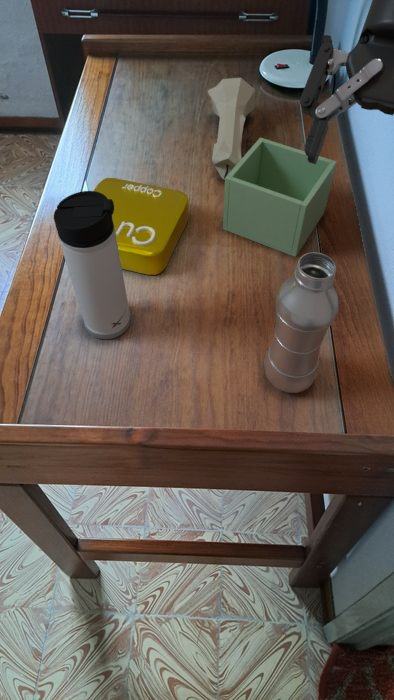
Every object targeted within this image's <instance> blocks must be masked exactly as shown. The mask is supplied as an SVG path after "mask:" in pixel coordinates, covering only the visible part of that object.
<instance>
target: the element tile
mask: <svg viewBox="0 0 394 700" xmlns="http://www.w3.org/2000/svg"><path fill="white" fill-rule="evenodd" d="M93 191H96V192H99V193H102V194H103V195H105V196H106V197H107V198H108V199H112V200H113V203H114V213H113V214H112V220H113V223H114V227H115V233H116V238H117V244H118V250H119V255H120V261H121V267H122V270H126V271H130V272H135V273H140V274H142V275H148V276H153V275H154V276H156V275H159V274H161V273H162V272H164V270H165V269H166V267H167V265H168V263H169V261H170V259H171V257H172V256H173V255H172V254H173V252H174V251H175V248H176V247H177V244H178V243H179V240H180V238H181V236H182V234H183V233H184V230H185V229H186V226H187V224H188V222H189V218H190V217H189V216H190V215H189V196H188V195H187V194H186V193H185V192H183V191H180V190H177V189H172V188H167V187H162V186H157V185H151V184H147V183H142V182H137V181H133V180H126V179H122V178H117V177H105V178H104V179H102V180H101V181H99V182H98V183H97V185H96V186H95V188H94V189H93Z"/></svg>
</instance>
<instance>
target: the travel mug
mask: <svg viewBox="0 0 394 700" xmlns="http://www.w3.org/2000/svg"><path fill="white" fill-rule="evenodd" d="M113 213H114V203H113V200H112V199H108V198H107V197H106V196H105V195H103V194H102V193H99V192H96V191H94V190H82V191H78V192H75V193H72V194H70V195H68V196H66V197H65V198H63V199H62V200H60V202H59V203H58V204H57V206H56V209H55V210H54V212H53V221H54V224H55V228H56V232H57V238H58V240H59V244H60V247H61V250H62V253H63V257H64V260H65V263H66V268H67V271H68V273H69V277H70V281H71V285H72V287H73V290H74V293H75V298H76V300H77V303H78V308H79V310H80V313H81V317H82V321H83V324H84V327H85V330H86V331H87V333H88V334H89V335H91V336H92V337H94V338H96V339H100V340H111V339H115V338H117V337H120V336H121V335H123V334H124V333H125V332H126V331H127V330H128V329H129V327H130V325H131V313H130V307H129V301H128V296H127V290H126V284H125V277H124V273H123V269H122V267H121V261H120V255H119V250H118V244H117V238H116V233H115V227H114V223H113V220H112V214H113Z"/></svg>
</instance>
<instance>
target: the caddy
mask: <svg viewBox="0 0 394 700" xmlns="http://www.w3.org/2000/svg"><path fill="white" fill-rule="evenodd" d="M241 158H242V159H241V160H240V161H239V162H238V164H237V165H236V166H235V167H234V168H233V169H232V171H231V172H230V173H229V174H228V175H227V176H226V177H225V179H224V192H223V193H224V194H223V197H224V198H223V211H222V230H224V231H226V232H229V233H231V234H234V235H237V236H239V237H242V238H245V239H247V240H249V241H252V242H256V243H258V244H261V245H263V246H266V247H268V248H271V249H274V250H276V251H278V252H281V253H284V254H286V255H289V256H291V257H294V258H296V257H297V256H298V255H299V253H300V251H301V250H302V248H303V246H304V245H305V244H306V242H307V240H308V239H309V237H310V235H311V234H312V233H313V231H314V230H315V228H316V226H317V225H318V223H319V222H320V220H321V218H322V217H323V216H324V214H325V212H326V209H327V208H326V207H327V203H328V199H329V196H330V191H331V187H332V184H333V179H334V176H335V171H336V167H337V164H338V161H337V160H333V159H330V158H327V157H324V156H320V155H319V157H318V160H317V163H316V164H312V163H309V162H308V156H306V154H305V150H302V149H298V148H295V147H292V146H289V145H286V144H282V143H279V142H277V141H272V140H271V139H267V138H263V137H259V138H258V139H257V140H256V141H255V143H254V144H253V145H252V146H251V147H250V148H249V149H248V151H247V152H245V154H244V155H243V157H241Z"/></svg>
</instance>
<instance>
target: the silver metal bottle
mask: <svg viewBox="0 0 394 700" xmlns="http://www.w3.org/2000/svg"><path fill="white" fill-rule="evenodd" d="M336 273H337V264H336V262H335V261H334V259H332V258H331V257H330V256H329V255H327V254H325V253H321V252H316V251H311V252H307V253H305V254H303V255H301V256H300V257H299V259H298V261H297V266H296V267H295V269H294V272H293V275H291V276H290V277H288V278H286V279H285V280H284V281H283V282H282V284H281V285H280V287H278V289H277V291H276V294H275V328H274V335H273V338H272V341H271V345H270V346H269V348H268V349H267V351H266V354H265V356H264V360H263V367H264V374H265V377H266V379H267V381H268V382H269V383H270V384H271V386H273V387H274V388H275V389H277V390H279V391H281V392H284V393H287V394H288V393H289V394H297V393H302V392H304V391H306V390H308V389H309V388H310V387H311V386H312V384H313V383H314V382H315V380H316V378H317V376H318V374H319V373H318V372H319V355H320V352H321V351H320V350H321V346H322V343H323V341H324V338H325V336H326V334H327V332H328V330H329V329H330V327H331V325H332V323H333V322H334V320H335V319H336V317H337V315H338V312H339V307H340V306H339V297H338V293H337V291H336V289H335V287H334V282H335V277H336Z"/></svg>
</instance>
